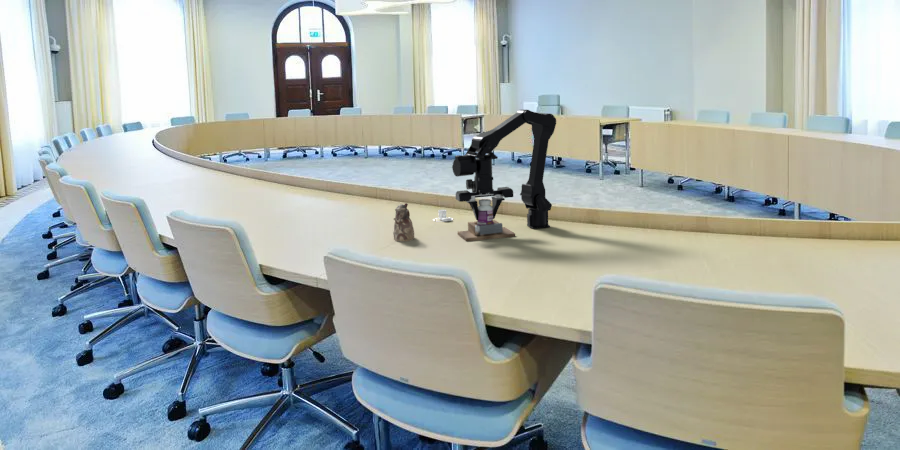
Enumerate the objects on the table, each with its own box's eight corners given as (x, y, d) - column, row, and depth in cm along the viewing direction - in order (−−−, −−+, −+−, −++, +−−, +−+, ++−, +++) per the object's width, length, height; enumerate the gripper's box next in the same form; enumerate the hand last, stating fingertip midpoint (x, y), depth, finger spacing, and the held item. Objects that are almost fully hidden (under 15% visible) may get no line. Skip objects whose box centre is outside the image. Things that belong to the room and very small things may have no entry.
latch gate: (501, 231, 231) (500, 222, 231) (502, 232, 230) (502, 223, 229) (474, 234, 229) (474, 225, 228) (476, 235, 228) (475, 226, 227)
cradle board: (504, 229, 241) (504, 218, 240) (515, 236, 230) (514, 224, 229) (457, 234, 237) (457, 223, 236) (466, 241, 226) (465, 229, 225)
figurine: (389, 239, 233) (386, 204, 231) (404, 235, 238) (402, 201, 236) (403, 242, 229) (401, 206, 226) (418, 238, 234) (417, 203, 231)
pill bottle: (491, 230, 230) (490, 201, 228) (475, 229, 232) (474, 201, 230) (495, 226, 235) (494, 198, 233) (480, 226, 237) (479, 198, 235)
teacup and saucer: (453, 222, 258) (452, 212, 257) (432, 223, 258) (431, 213, 257) (453, 218, 267) (453, 207, 266) (432, 219, 267) (432, 208, 266)
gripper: (502, 168, 239) (504, 212, 243) (450, 172, 235) (452, 217, 238) (513, 172, 229) (514, 218, 232) (458, 176, 225) (460, 223, 228)
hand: (485, 219), depth 233 cm, fingers closed on pill bottle, 5 cm apart
